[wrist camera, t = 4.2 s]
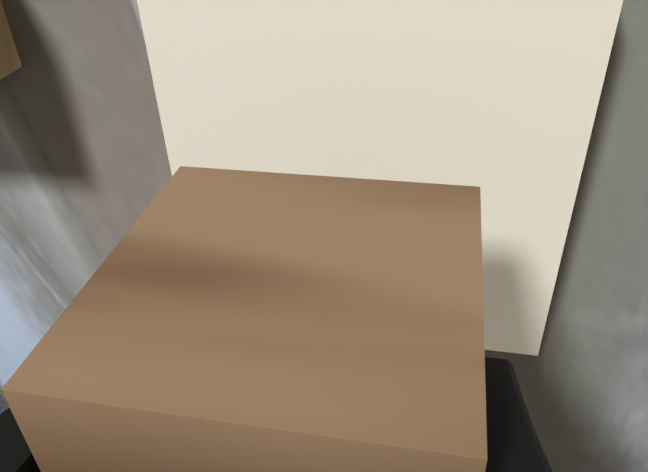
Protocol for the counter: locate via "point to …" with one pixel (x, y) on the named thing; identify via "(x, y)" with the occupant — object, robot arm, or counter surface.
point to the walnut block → (271, 334)
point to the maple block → (7, 48)
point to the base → (401, 110)
